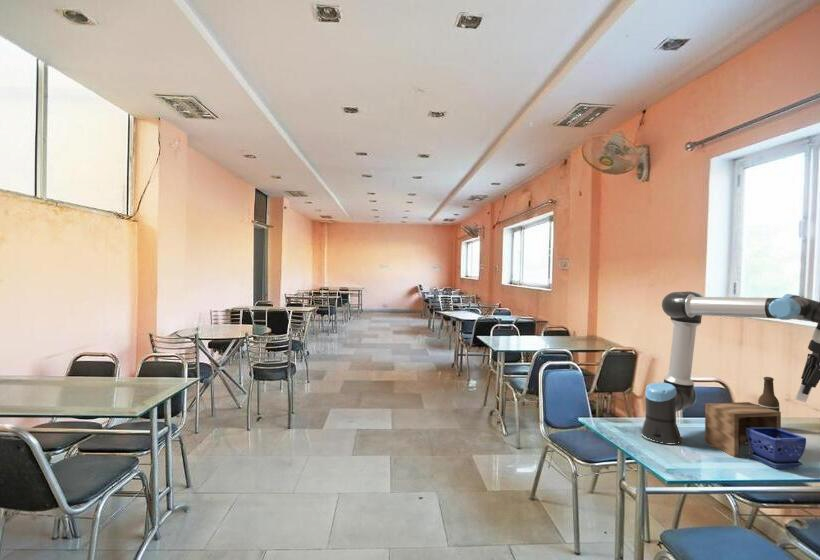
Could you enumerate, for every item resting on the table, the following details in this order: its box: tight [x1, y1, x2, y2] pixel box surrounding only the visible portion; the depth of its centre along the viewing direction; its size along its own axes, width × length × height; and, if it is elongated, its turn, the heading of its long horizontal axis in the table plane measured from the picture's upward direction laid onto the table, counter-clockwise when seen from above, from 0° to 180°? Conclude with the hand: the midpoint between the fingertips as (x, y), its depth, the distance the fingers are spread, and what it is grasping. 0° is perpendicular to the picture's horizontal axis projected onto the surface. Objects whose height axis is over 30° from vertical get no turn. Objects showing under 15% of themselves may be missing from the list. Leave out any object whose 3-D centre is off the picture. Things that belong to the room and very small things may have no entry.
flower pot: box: [746, 427, 807, 469], centre depth 162 cm, size 13×13×12 cm
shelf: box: [704, 401, 782, 458], centre depth 176 cm, size 14×21×17 cm
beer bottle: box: [757, 376, 781, 412], centre depth 201 cm, size 8×8×24 cm
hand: (800, 400), depth 159 cm, fingers closed
